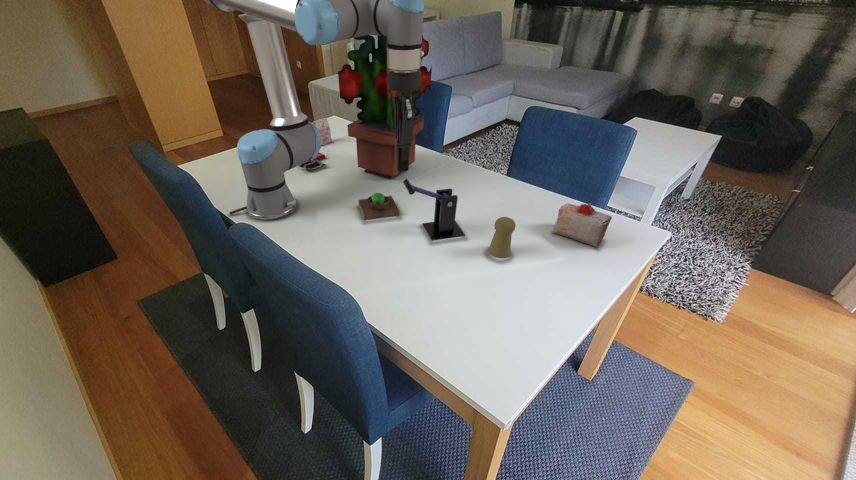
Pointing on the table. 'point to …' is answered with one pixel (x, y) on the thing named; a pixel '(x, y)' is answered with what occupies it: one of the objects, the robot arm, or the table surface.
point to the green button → (378, 198)
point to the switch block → (378, 208)
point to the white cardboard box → (323, 130)
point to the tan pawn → (502, 237)
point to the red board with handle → (313, 163)
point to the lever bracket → (444, 218)
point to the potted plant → (377, 106)
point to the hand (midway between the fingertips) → (402, 169)
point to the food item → (582, 223)
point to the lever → (422, 190)
